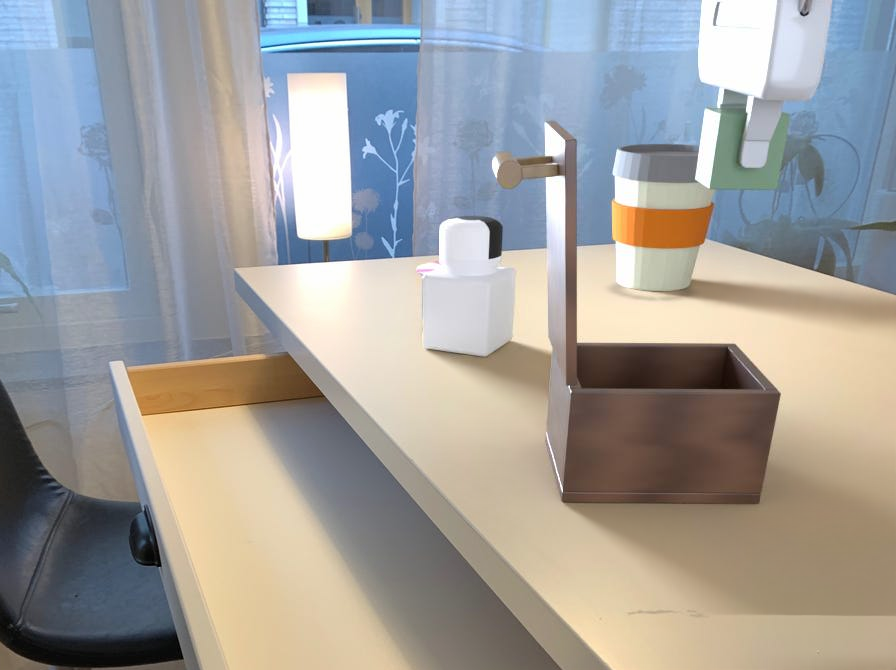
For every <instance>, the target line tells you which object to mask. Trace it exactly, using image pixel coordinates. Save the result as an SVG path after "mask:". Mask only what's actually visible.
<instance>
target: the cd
mask: <svg viewBox="0 0 896 670" xmlns="http://www.w3.org/2000/svg"><path fill="white" fill-rule="evenodd" d="M440 267H442V264H441V263H440V262H439V260H436V261H431V262H426V263H423V264H420V265H418V266H417V267H416V272H417V273H419V274H420V275H422V276H424V275H425V274H427V273H429V272H432V271H434V270H436V269H438V268H440Z"/></svg>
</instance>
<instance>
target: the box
mask: <svg viewBox="0 0 896 670" xmlns="http://www.w3.org/2000/svg"><path fill="white" fill-rule="evenodd" d="M550 360H551V362H550V372H549V374H550V375H549V388H548V402H547V413H546V426H545V444H546V448H547V452H548V455H549V460H550V463H551V467H552V470H553V474H554V478H555V482H556V485H557V489H558V493H559V496H560V501H561V502H562V503H610V504H611V503H613V504H615V503H617V504H619V503H624V504H625V503H626V504H627V503H629V504H631V503H632V504H749V505H751V504H752V505H753V504H760V501H761V497H762V492H763V487H764V482H765V476H766V472H767V467H768V461H769V457H770V451H771V448H772V447H771V446H772V442H773V435H774V432H775V431H774V430H775V426H776V420H777V415H778V411H779V407H780V401H781V395H782V393H781V392H780V391H779V390H778V389H777V388H776V386H775V385H774V384H773V383H772V382H771V381H770V380H769V378H767V377H766V375H765V374H764V373H763V372H762V371H761V370H760V369H759V367H757V366H756V364H755V363H754V362H753V361H752V360H751V359H750V358H749V357H748V356H747V355H746V353H745V352H744V351H743V350H742V349H741V348H740V347H739V346H738V345H737V344H736V343H718V342H717V343H710V342H709V343H705V342H703V343H699V342H697V343H696V342H691V343H690V342H687V343H686V342H577V385H573V386H566V383H565V381H564V378H563V375H562V372H561V370H560V367H559V364H558V362H557V359H556V356H555V353H554V351H553V348H552V347H551V359H550Z"/></svg>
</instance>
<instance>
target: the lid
mask: <svg viewBox="0 0 896 670" xmlns="http://www.w3.org/2000/svg"><path fill="white" fill-rule="evenodd" d="M544 143H545V148H544V149H545V152H544V153H545V155H532V156H522V157H521V156H520V157H516V156H515V155H514V153H512V152H510V151H508V150H503V151H499V152H498V153H496V154H495V155H494V157H493V158H492V162H491V168H492V171H493V174H494V176H495V178H496V181H497V183H498V185H499V187H501V188H503V189H504V190H505V189H506V190H512V189H514V188H516V187H518V186H519V185H520V183H521V182H522V180H534V179H543V178H545V198H546V199H545V207H546V210H545V211H546V213H545V214H546V264H547V265H546V271H547V272H546V273H547V275H546V276H547V279H546V280H547V282H546V283H547V337H548V339H549V342H550V345H551V349H552V348H553V351H554V353H555V356H556V359H557V362H558V364H559V367H560V370H561V372H562V375H563V378H564V381H565V383H566V386H573V385H577V343H578V140H577V138H575V137H574V136H573V135H572V134H571V133H570V132H568V130H566V129H565V128H564V127H563V126H562V125H561V124H560V123H558V121H556V120H546V121H544Z"/></svg>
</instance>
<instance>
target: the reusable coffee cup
mask: <svg viewBox="0 0 896 670" xmlns="http://www.w3.org/2000/svg"><path fill="white" fill-rule="evenodd" d="M616 148H617V149H616V154H615V159H614V163H613V168H612V175H613V176H614V196H615V197H614V198H613V199H612V200H611V222H612V223H611V224H612V226H611V227H612V229H611V230H612V231H611V232H612V240H613V241H615V259H616V262H615V263H616V264H615V265H616V267H615V268H616V270H615V271H616V283H617V284H618V285H619V286H622V287H625V288H629V289H634V290H641V291H650V292H672V291H679V290H684V289H686V288H689V286H690V285H691V281H692V277H693V273H694V269H695V266H696V261H697V258H698V254H699V249H700V248H701V246H702V245H703V244H705V241H706V238H707V234H708V230H709V226H710V222H711V219H712V215H713V212H714V208H715V203H714V202H713V199H714V198H713V197H714V194H715V190H716V189H709V188H707V187H706V186H704V185H703V184H701V183H700V182H698V181H697V180H695V177H696V170H697V163H698V156H699V148H700V145H695V144H694V145H692V144H677V143H639V144H638V143H637V144H627V145H621V146H619V147H616Z"/></svg>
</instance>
